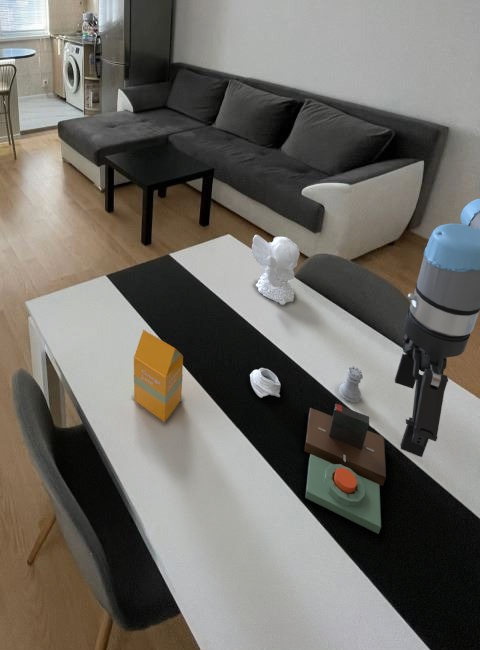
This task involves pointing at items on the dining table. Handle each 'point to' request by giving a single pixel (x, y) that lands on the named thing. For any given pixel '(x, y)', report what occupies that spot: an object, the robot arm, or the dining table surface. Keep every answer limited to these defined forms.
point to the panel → (346, 449)
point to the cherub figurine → (276, 267)
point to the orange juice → (157, 376)
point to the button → (345, 480)
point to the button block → (344, 494)
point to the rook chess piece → (351, 385)
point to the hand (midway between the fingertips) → (407, 415)
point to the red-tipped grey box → (349, 426)
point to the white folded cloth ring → (265, 383)
